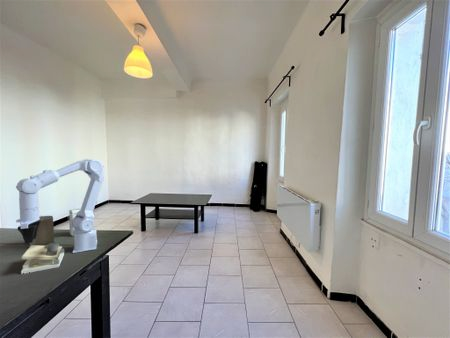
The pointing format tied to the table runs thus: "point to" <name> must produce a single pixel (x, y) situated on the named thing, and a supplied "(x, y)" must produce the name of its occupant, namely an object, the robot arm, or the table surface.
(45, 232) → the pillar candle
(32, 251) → the plate
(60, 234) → the table surface
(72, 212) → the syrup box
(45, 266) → the stand
